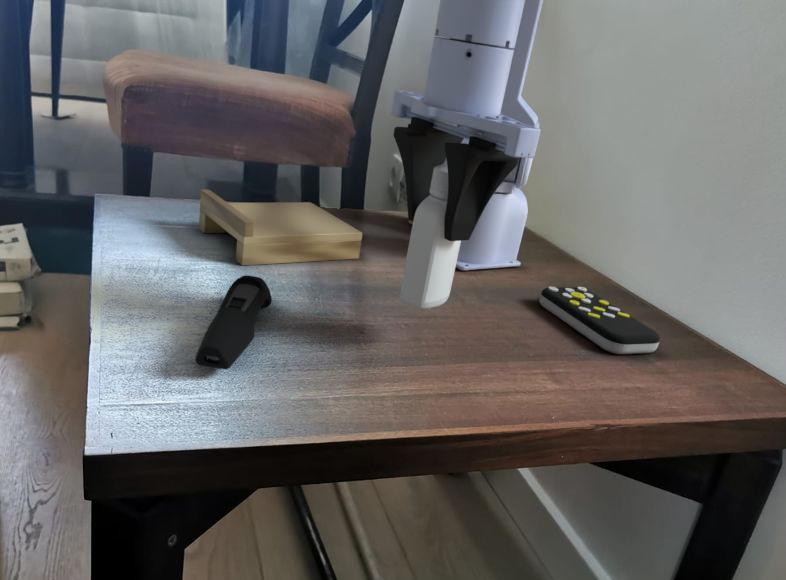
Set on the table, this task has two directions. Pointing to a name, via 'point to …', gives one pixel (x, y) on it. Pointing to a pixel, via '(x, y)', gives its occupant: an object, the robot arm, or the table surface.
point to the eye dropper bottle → (430, 249)
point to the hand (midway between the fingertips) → (437, 229)
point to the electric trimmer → (233, 323)
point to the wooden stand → (279, 231)
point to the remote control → (599, 320)
